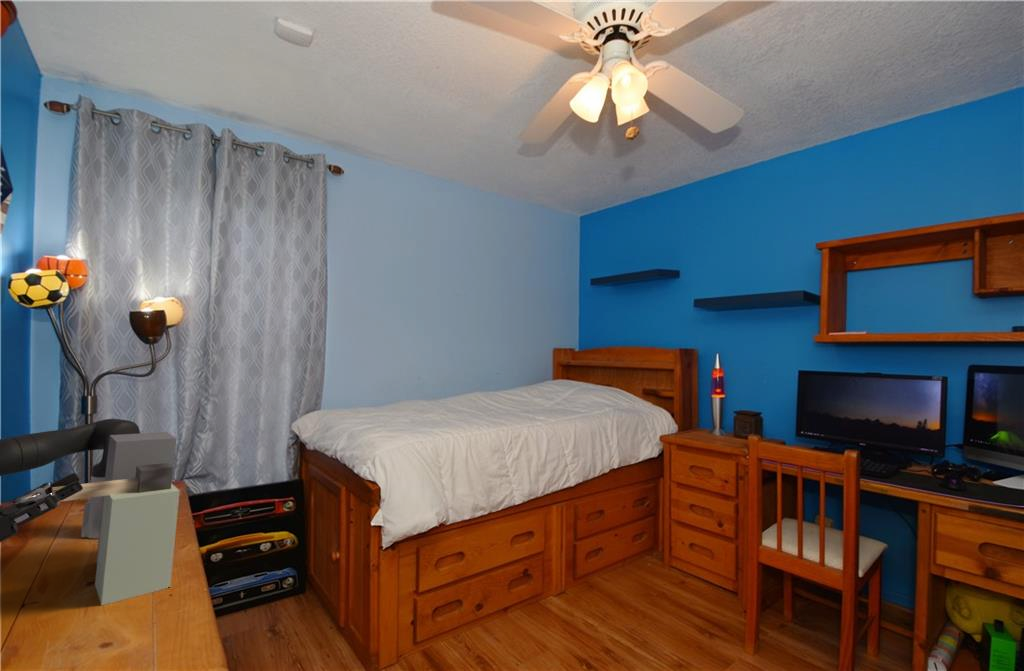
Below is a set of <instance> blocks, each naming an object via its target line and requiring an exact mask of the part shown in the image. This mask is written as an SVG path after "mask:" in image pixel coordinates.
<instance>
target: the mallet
mask: <svg viewBox="0 0 1024 671" xmlns="http://www.w3.org/2000/svg"><path fill="white" fill-rule="evenodd" d="M172 473H173V474H174V470H173V467H172V466H171V465H169V464H168V463H161V464H151V465H141V466H136V475H135V478H131V479H122V480H113V481H104V482H95V483H91V482H87V483H80V484H81V486H82V487H83V489H82V490H81V491H79V492H77V493H75V494H73V495H72V496H70V497H68V498H66V499H64V500H62V501H61V500H60V501H61V502H68V501H74V500H75V501H76V500H85V499H89V498H92V497H99V496H107V495H115V494H123V493H130V492H138V493H143V492H150V491H158V490H165V489H171V483H172V484H173V480H172ZM63 487H65V486H60V487H52V492H54V493H55V491H57V490H59V489H61V488H63ZM55 494H56V493H55Z"/></svg>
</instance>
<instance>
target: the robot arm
mask: <svg viewBox="0 0 1024 671" xmlns="http://www.w3.org/2000/svg"><path fill="white" fill-rule="evenodd" d="M140 430H141V429H140V427H139V425H138V424H137V423H136V422H134V421H131V420H129V419H120V418H106V419H102V420H97V421H95V422H90V423H87V424H84V425H80V426H79V425H78V426H76V427H70V428H65V429H57V430H56V429H55V430H49V431H48V430H47V431H40V432H39V431H38V432H35V433H34V432H33V433H28V434H27V433H25V434H20V435H16V436H9V437H4V438H0V477H3V476H7V475H8V476H9V475H13V474H17V473H21V472H22V473H23V472H25V471H30V470H34V469H39V468H40V467H44V466H47V465H49V464H51V463H54V462H56V461H58V460H60V459H62V458H63V457H66V456H69V455H73V454H77V453H81V452H88V451H98V450H99V451H100V450H102V456H101V460H100V461H99V462H97V463H96V464H94V465H92V468H91V472H90V473H91V474H90V475H91V476H90V483H95V482H104V481H105V475H106V466H107V456H108V447H109V438H110V435H123V434H140V433H141V431H140ZM79 481H80V478H79V476H78V475H77V473H76V472H71V473H69V474H67V475H66V476H64V477H62V478H59V479H58V480H55V481H53V482H45V483H43V484H42V485H39V486H38V487H35V488H34V489H31V490H29V491H27V492H26V493H24V494H22V495H20V496H17V497H15V498H13V499H12V500H11V502H12V504H10V505H9V506H7V507H3V505H1V504H0V543H1V542H4V541H5V540H7V539H8V538H11V537H13V536H14V535H16V534H17V533H18V531H19V528H18V527H21V526H24V525H25V524H27V523H29V522H31V521H32V520H35V519H36V518H39V517H40V516H42V515H45V514H46V513H48V512H50V511H52V510H55V509H56V508H57V507H59V505H60V503H62V502H63V501H62V500H64V499H66V498H68V497H70V496H72V495H73V494H75V493H77V492H79V491H81V490H82V489H83V487H82V486H81V484H82V483H80V482H79ZM60 486H65V487H63V488H61V489H59V490H57V491H55V493H56V494H55V493H54V492H52V487H60ZM60 500H61V501H60ZM102 503H103V496H99V497H92V498H88V501H86V502H85V503H84V505H83V514H82V523H81V530H80V532H81V533H80V538H87V539H99V531H100V522H101V513H102Z"/></svg>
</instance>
